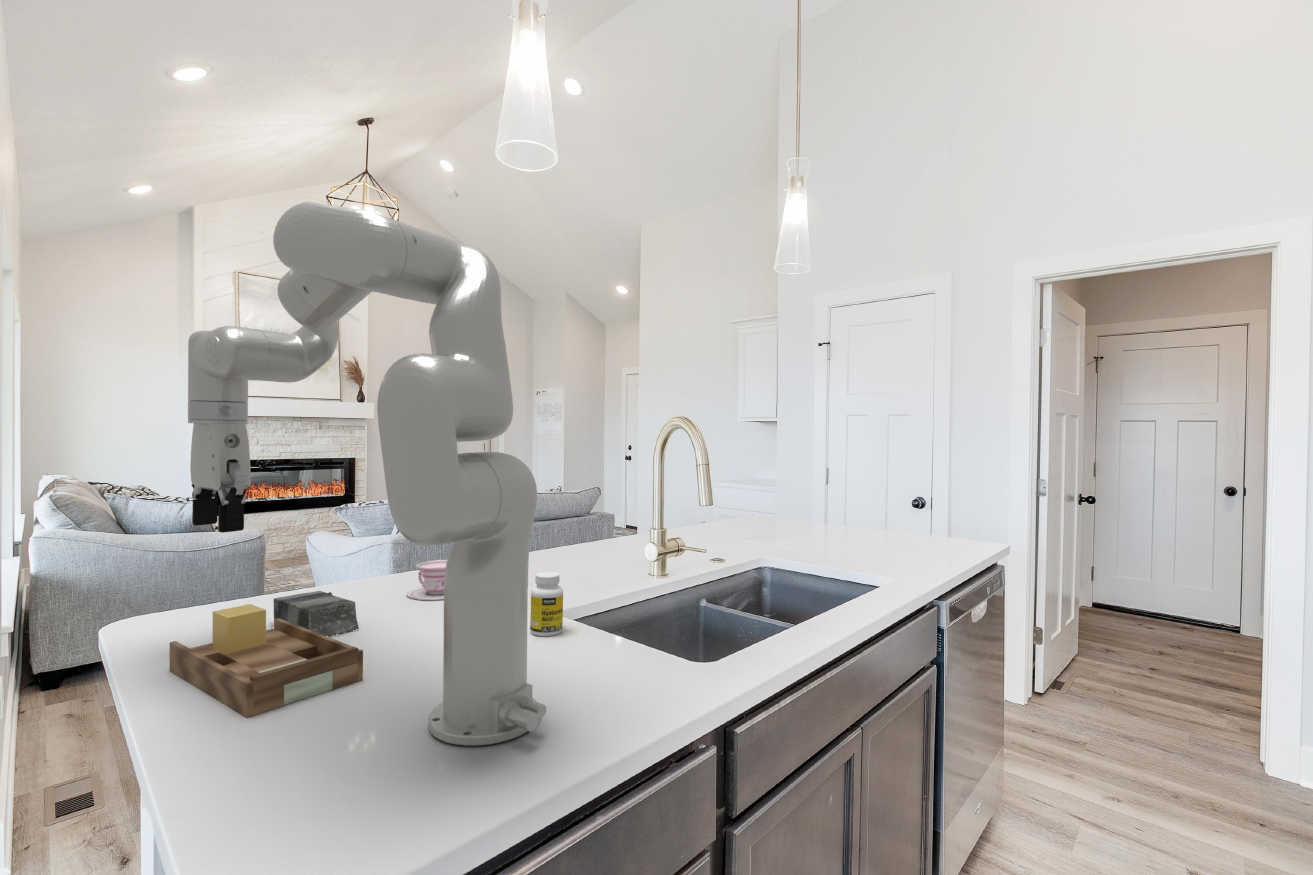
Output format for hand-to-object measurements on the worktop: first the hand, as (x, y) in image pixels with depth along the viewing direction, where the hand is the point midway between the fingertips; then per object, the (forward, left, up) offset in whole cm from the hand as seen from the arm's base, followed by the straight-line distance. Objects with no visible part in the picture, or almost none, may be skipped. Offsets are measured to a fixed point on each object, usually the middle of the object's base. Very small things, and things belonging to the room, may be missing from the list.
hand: (217, 527), depth 98 cm
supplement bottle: (-33, -37, -19) cm, 53 cm away
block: (-8, 0, -16) cm, 18 cm away
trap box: (-16, 0, -19) cm, 25 cm away
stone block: (0, -15, -19) cm, 25 cm away
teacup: (+3, -41, -19) cm, 45 cm away
